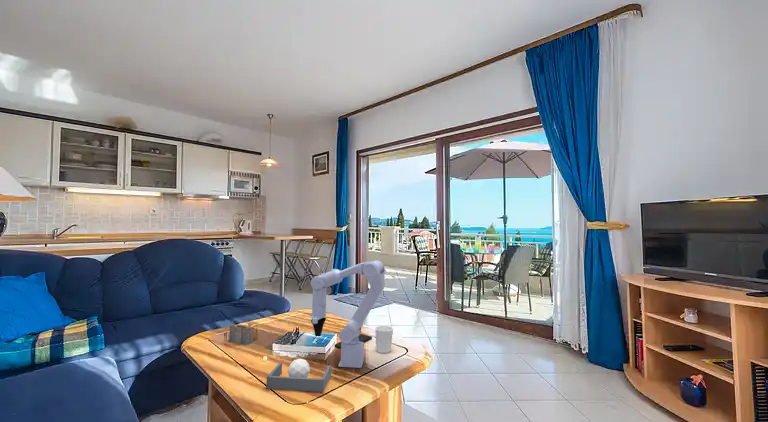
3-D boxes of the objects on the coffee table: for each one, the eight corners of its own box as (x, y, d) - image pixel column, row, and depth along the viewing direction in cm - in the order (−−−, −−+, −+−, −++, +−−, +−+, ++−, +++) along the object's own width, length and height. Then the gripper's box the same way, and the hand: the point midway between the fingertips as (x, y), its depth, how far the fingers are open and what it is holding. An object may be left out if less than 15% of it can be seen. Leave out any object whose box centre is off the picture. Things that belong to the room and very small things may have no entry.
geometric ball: (300, 391, 120) (299, 379, 115) (283, 378, 123) (282, 367, 118) (314, 373, 125) (314, 362, 121) (298, 362, 128) (297, 350, 124)
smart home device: (372, 336, 167) (347, 348, 151) (372, 339, 167) (347, 352, 151) (359, 333, 172) (333, 344, 155) (359, 336, 172) (333, 348, 155)
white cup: (372, 352, 151) (372, 329, 151) (378, 346, 158) (379, 324, 158) (388, 355, 148) (388, 332, 148) (394, 348, 155) (395, 327, 155)
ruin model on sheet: (252, 343, 158) (253, 322, 159) (248, 345, 155) (249, 324, 156) (233, 340, 162) (234, 319, 162) (229, 342, 159) (230, 321, 159)
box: (331, 376, 126) (331, 365, 126) (323, 392, 114) (323, 380, 114) (279, 373, 127) (279, 362, 127) (266, 388, 115) (266, 376, 115)
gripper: (314, 299, 150) (313, 330, 150) (305, 307, 136) (304, 341, 135) (329, 300, 150) (328, 330, 149) (322, 308, 135) (321, 342, 135)
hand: (318, 335), depth 142 cm, fingers closed
